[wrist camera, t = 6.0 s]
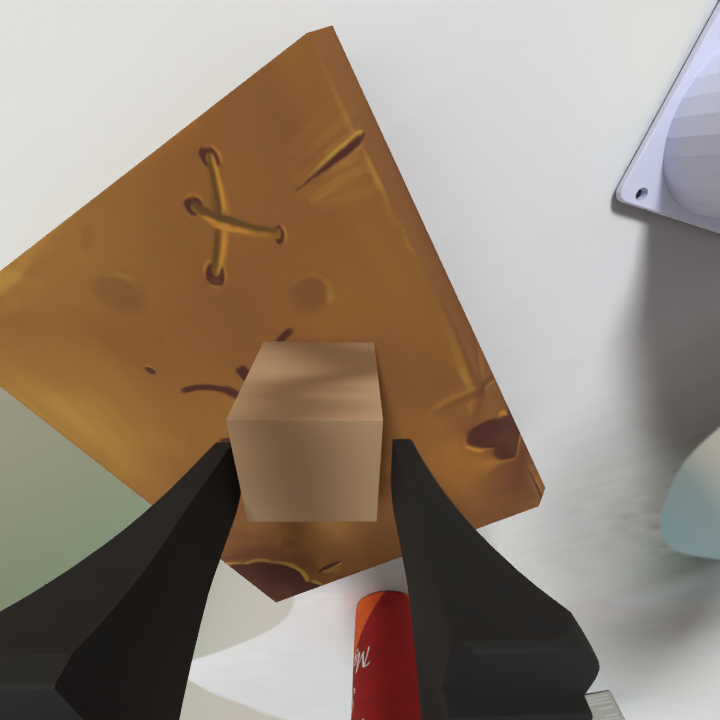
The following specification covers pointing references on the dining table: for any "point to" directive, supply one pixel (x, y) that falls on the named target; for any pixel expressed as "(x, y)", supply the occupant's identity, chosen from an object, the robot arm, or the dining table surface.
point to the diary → (260, 312)
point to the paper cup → (384, 659)
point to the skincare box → (603, 706)
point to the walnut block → (309, 433)
